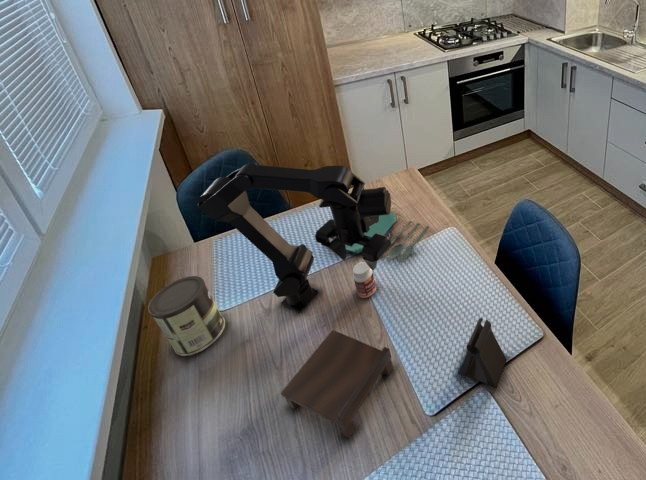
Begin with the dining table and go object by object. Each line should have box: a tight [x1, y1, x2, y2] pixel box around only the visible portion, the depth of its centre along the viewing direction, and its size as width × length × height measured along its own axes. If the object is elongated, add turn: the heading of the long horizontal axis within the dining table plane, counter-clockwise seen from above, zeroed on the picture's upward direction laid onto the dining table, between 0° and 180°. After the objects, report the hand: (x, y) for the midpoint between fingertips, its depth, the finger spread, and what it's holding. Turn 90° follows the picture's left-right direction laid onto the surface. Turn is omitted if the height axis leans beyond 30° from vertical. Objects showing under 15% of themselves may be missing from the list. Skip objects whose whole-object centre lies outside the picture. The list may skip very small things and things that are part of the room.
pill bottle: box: [352, 261, 377, 299], centre depth 105 cm, size 5×5×8 cm
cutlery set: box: [345, 211, 430, 264], centre depth 123 cm, size 20×30×2 cm, turn 67°
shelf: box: [280, 329, 394, 440], centre depth 84 cm, size 16×14×7 cm
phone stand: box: [457, 317, 507, 389], centre depth 85 cm, size 9×6×12 cm, turn 70°
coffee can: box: [147, 275, 226, 357], centre depth 94 cm, size 10×10×14 cm
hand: (359, 263), depth 102 cm, fingers open, 9 cm apart
